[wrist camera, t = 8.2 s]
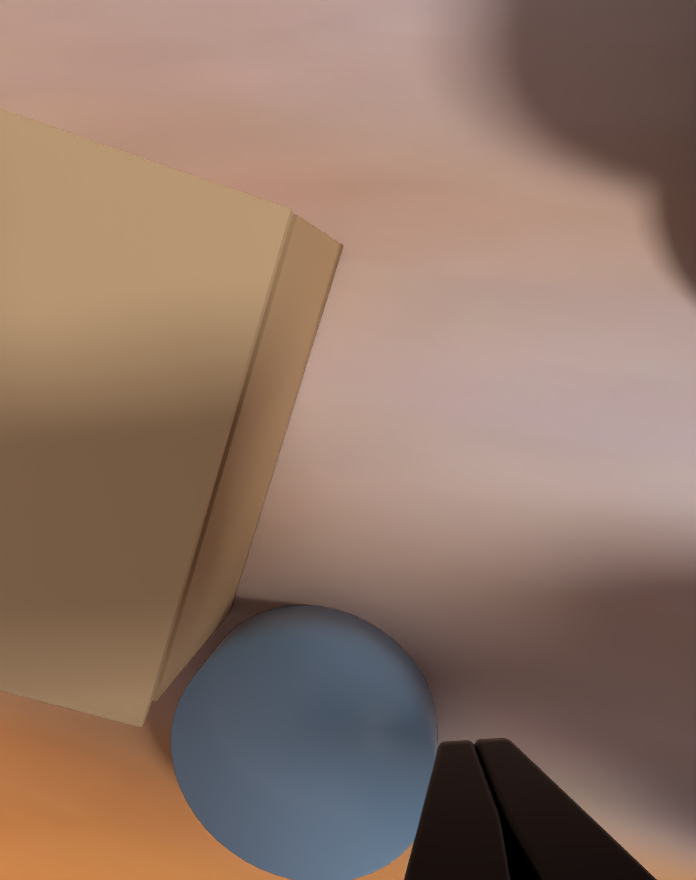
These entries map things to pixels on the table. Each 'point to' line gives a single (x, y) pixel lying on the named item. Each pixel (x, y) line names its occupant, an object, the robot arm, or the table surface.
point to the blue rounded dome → (307, 744)
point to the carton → (254, 439)
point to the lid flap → (113, 402)
